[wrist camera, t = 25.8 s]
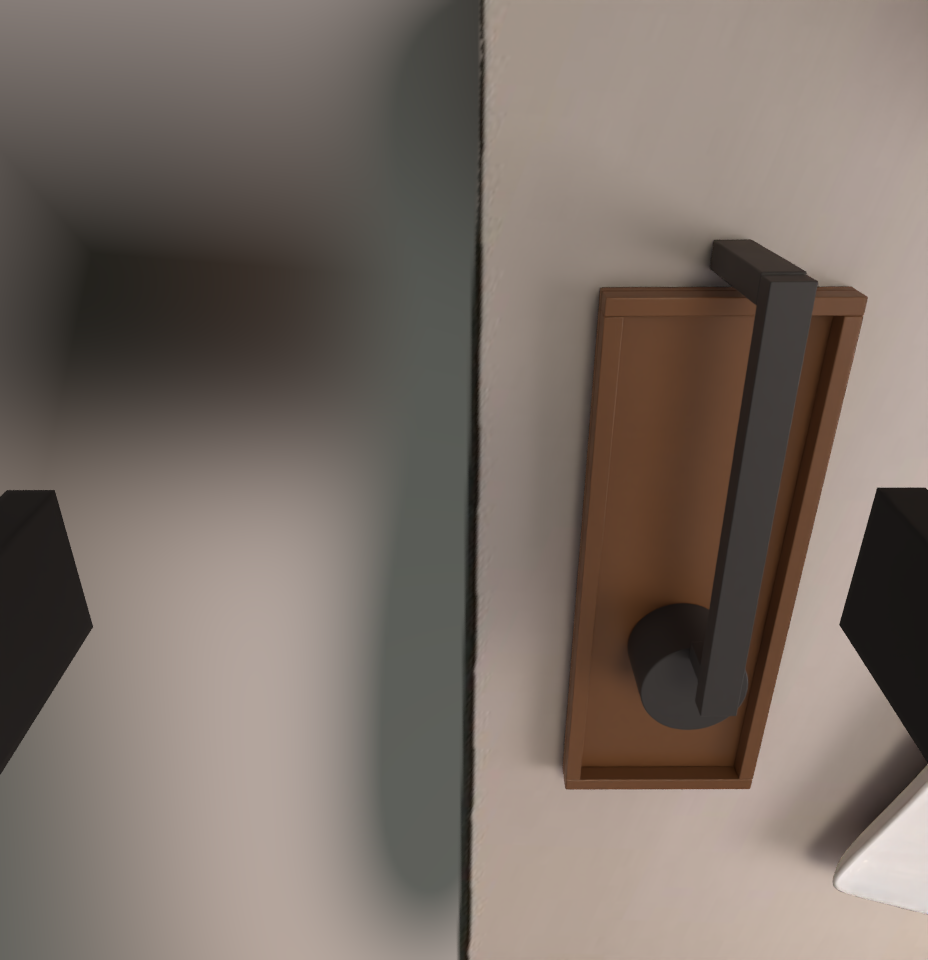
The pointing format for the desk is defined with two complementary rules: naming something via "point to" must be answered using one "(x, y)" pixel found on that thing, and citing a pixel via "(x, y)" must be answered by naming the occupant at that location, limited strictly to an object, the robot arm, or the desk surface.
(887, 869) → the salad plate
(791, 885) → the desk surface
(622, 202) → the desk surface
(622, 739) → the spoon rest
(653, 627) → the ladle
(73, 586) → the robot arm
